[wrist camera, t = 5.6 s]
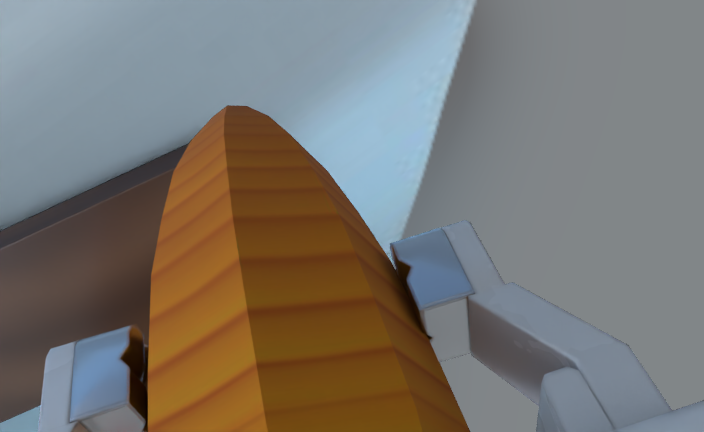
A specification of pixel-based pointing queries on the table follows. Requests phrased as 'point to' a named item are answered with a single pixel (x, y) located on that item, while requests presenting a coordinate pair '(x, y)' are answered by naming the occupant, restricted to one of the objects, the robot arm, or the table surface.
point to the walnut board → (77, 274)
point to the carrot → (279, 300)
